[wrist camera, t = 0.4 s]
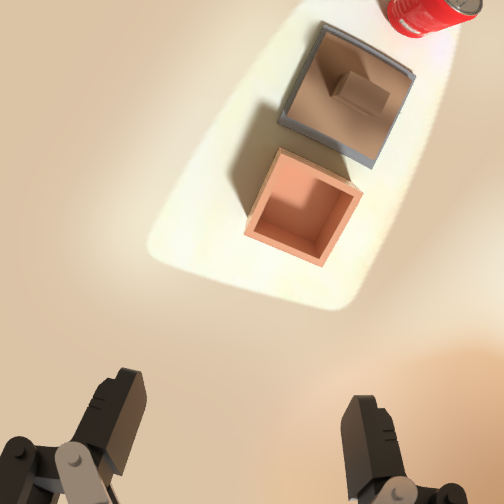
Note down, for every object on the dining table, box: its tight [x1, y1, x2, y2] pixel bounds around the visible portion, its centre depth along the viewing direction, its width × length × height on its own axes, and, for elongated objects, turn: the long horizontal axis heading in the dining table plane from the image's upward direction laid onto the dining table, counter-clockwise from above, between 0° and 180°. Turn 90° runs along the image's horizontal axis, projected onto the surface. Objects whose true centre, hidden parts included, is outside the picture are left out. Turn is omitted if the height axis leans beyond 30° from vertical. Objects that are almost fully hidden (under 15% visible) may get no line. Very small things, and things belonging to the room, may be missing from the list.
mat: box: [277, 24, 416, 170], centre depth 29 cm, size 12×11×1 cm
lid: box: [286, 32, 412, 160], centre depth 26 cm, size 10×10×5 cm
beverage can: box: [387, 0, 483, 38], centre depth 19 cm, size 5×5×12 cm
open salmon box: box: [244, 147, 364, 267], centre depth 32 cm, size 8×8×5 cm
